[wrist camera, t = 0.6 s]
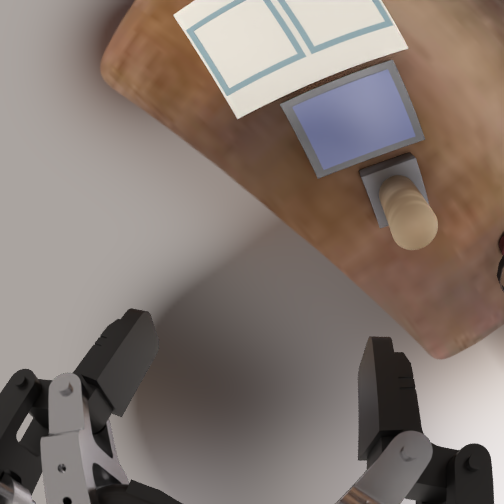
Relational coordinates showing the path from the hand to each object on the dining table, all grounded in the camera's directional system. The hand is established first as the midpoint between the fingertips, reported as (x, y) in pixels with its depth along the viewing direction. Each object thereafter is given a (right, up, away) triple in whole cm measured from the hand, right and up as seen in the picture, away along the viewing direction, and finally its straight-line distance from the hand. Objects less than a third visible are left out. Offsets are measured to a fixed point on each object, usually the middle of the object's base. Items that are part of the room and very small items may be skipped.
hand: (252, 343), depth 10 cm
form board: (+3, +22, +8) cm, 24 cm away
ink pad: (+8, +14, +11) cm, 20 cm away
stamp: (+13, +9, +14) cm, 21 cm away
